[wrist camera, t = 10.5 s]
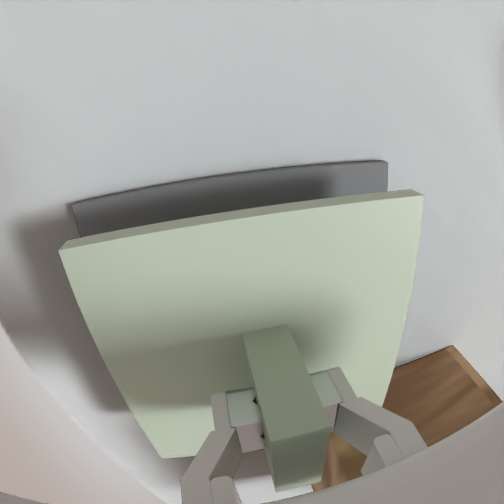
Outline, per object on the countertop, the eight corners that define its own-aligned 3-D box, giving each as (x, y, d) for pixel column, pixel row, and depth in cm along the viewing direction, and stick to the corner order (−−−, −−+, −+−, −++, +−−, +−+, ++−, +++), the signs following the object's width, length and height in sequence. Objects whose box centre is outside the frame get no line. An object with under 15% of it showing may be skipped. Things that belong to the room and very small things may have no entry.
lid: (66, 240, 9) (-10, 343, 4) (411, 189, 11) (520, 246, 6) (161, 446, 14) (164, 531, 10) (374, 402, 16) (414, 472, 11)
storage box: (311, 393, 18) (370, 532, 9) (452, 345, 20) (528, 434, 11) (305, 467, 23) (337, 558, 14) (415, 428, 25) (459, 501, 16)
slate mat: (75, 202, 11) (71, 205, 11) (383, 160, 13) (387, 162, 12) (154, 413, 17) (154, 418, 16) (360, 373, 18) (363, 377, 18)
